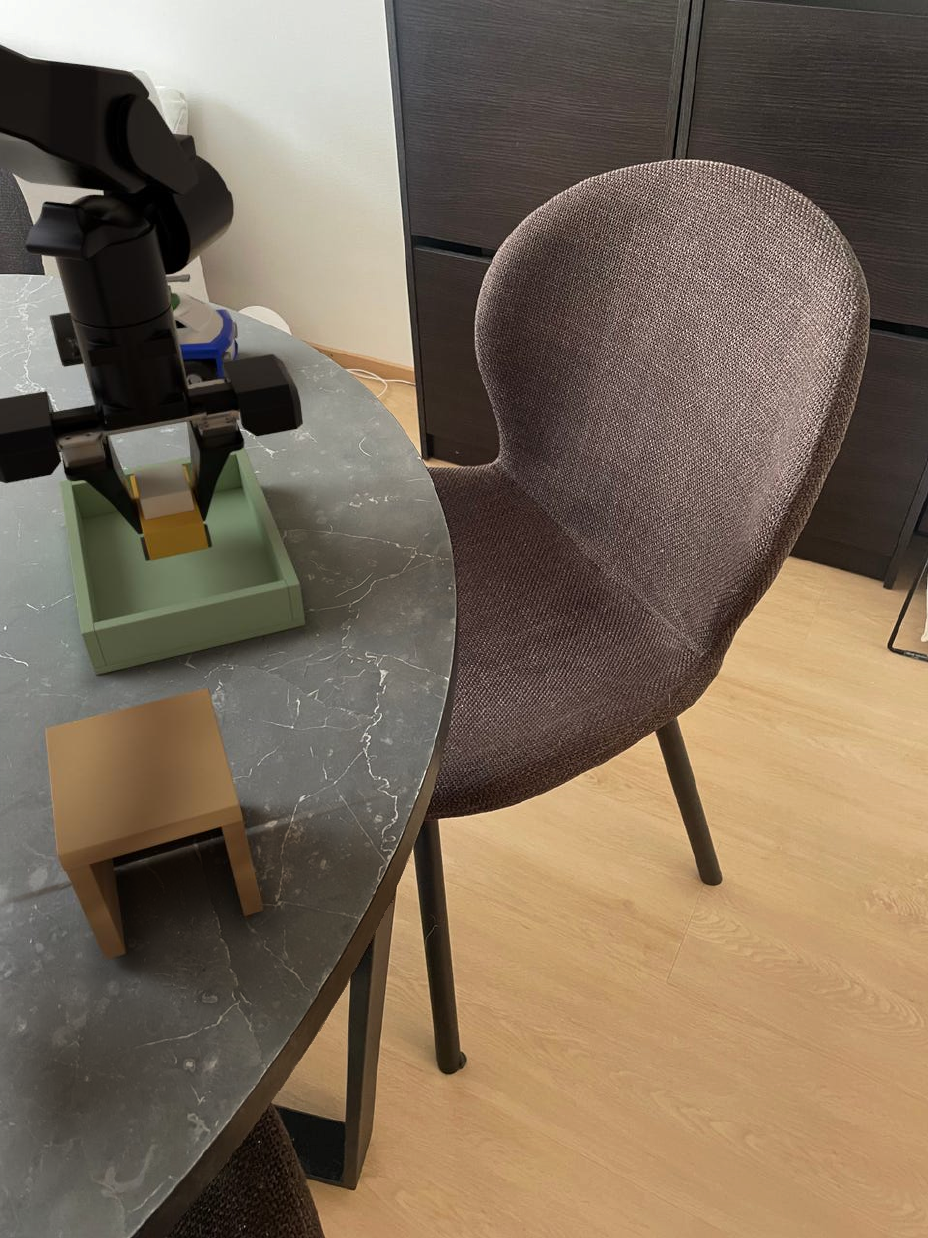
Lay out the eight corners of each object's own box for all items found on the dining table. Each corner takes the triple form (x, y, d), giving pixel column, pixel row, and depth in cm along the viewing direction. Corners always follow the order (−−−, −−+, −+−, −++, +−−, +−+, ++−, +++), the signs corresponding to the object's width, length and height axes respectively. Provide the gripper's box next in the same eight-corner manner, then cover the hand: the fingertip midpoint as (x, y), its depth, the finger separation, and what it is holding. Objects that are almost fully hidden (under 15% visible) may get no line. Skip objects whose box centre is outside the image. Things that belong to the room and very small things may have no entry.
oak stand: (105, 966, 49) (56, 856, 43) (90, 841, 54) (44, 728, 48) (265, 915, 51) (239, 804, 45) (234, 800, 56) (208, 687, 50)
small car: (214, 554, 67) (203, 500, 64) (147, 569, 66) (133, 514, 63) (196, 497, 72) (185, 444, 70) (133, 509, 71) (120, 456, 68)
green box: (95, 675, 64) (81, 633, 61) (72, 521, 76) (59, 481, 73) (305, 625, 67) (299, 583, 65) (250, 485, 79) (244, 446, 77)
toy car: (236, 398, 90) (220, 296, 83) (99, 403, 89) (72, 300, 83) (245, 350, 97) (230, 253, 90) (118, 354, 96) (94, 256, 90)
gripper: (251, 236, 67) (279, 440, 77) (-51, 276, 62) (22, 489, 72) (290, 304, 59) (315, 521, 69) (-51, 356, 54) (31, 581, 64)
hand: (171, 524), depth 69 cm, fingers closed on small car, 4 cm apart
